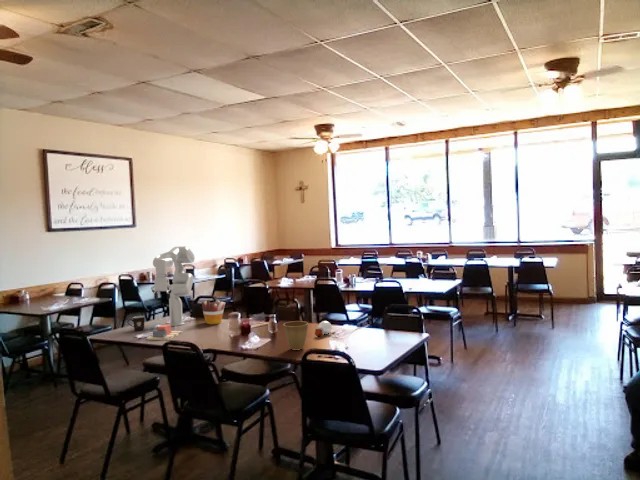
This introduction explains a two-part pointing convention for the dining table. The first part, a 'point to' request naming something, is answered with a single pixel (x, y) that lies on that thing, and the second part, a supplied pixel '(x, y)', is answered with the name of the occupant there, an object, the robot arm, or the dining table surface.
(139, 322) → the coffee mug
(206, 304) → the bucket of meat
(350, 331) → the dining table surface
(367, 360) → the dining table surface
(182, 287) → the robot arm
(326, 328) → the potion bottle
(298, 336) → the plant pot
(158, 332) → the coupler nose
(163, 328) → the block
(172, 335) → the slatted wooden trivet
